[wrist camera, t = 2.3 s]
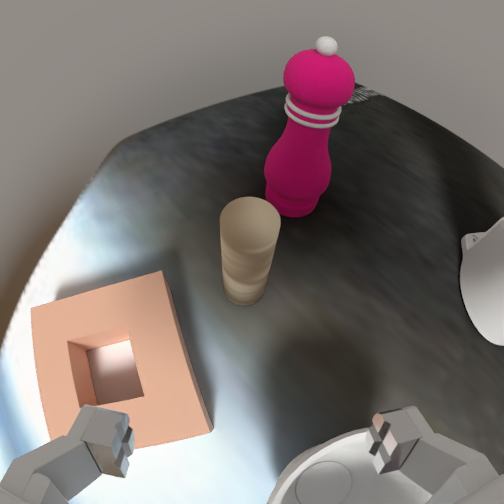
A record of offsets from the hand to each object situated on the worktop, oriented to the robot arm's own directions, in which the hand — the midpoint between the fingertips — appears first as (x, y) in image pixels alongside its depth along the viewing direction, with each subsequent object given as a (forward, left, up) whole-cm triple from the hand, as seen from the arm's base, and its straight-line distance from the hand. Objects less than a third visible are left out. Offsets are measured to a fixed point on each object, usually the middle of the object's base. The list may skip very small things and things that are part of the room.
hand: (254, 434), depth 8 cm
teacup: (-4, +10, -17) cm, 21 cm away
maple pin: (-4, -12, -17) cm, 21 cm away
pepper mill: (-13, -21, -17) cm, 30 cm away
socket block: (+10, -7, -17) cm, 21 cm away
